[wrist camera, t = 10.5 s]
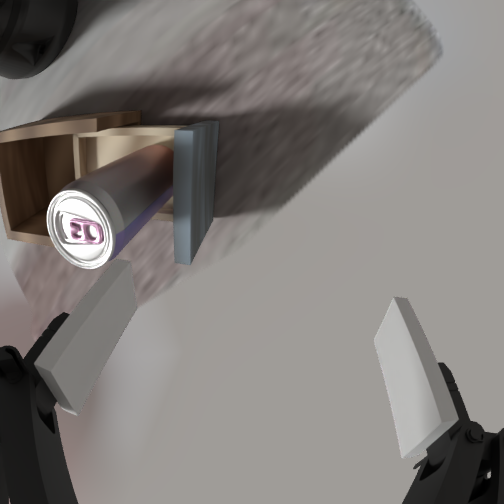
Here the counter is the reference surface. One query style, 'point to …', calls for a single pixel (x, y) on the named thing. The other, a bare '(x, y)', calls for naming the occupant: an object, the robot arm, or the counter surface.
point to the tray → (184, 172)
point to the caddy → (43, 168)
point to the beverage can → (110, 206)
